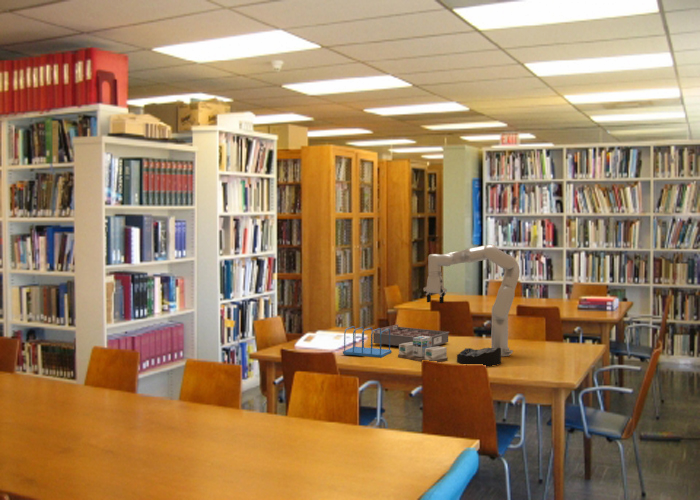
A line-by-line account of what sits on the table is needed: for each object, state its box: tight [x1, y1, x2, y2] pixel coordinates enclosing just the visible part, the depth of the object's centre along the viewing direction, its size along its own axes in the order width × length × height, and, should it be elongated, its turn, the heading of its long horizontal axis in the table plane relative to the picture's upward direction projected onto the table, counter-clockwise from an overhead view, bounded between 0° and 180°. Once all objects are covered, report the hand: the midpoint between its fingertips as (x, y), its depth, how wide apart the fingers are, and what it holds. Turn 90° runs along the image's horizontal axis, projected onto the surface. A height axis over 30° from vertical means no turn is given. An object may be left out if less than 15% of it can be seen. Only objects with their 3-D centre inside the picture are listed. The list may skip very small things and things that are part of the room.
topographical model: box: [456, 347, 502, 367], centre depth 404 cm, size 25×25×10 cm
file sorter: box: [342, 325, 392, 358], centre depth 429 cm, size 25×17×15 cm
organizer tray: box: [373, 323, 450, 347], centre depth 461 cm, size 32×40×10 cm
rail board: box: [397, 342, 449, 363], centre depth 413 cm, size 26×14×8 cm, turn 43°
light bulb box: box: [413, 336, 432, 357], centre depth 414 cm, size 11×7×11 cm, turn 141°
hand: (435, 302), depth 431 cm, fingers open, 9 cm apart
